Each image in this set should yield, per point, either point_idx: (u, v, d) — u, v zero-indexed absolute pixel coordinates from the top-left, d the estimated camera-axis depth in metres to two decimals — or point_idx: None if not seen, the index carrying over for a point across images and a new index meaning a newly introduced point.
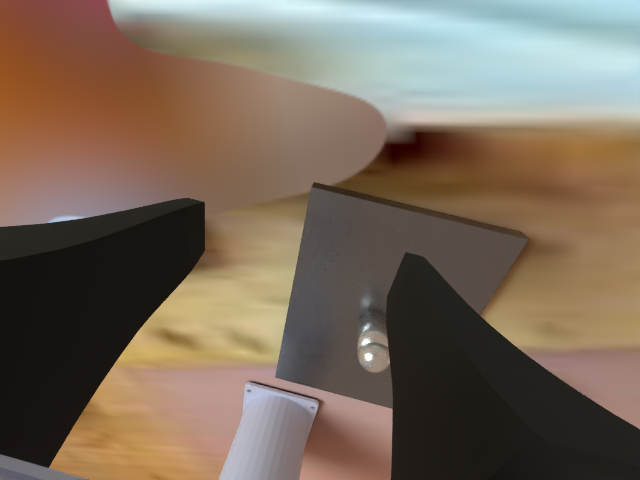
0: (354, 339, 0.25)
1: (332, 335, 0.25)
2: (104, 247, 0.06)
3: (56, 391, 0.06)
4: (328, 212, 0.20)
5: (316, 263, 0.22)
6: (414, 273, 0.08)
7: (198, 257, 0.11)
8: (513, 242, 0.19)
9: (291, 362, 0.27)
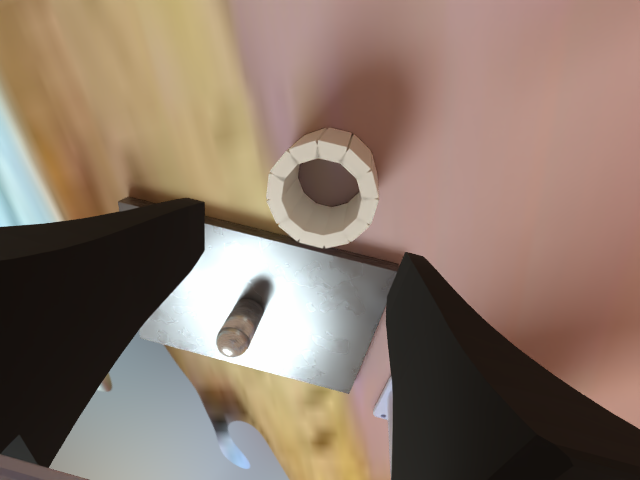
0: (274, 326, 0.24)
1: (274, 342, 0.25)
2: (104, 247, 0.06)
3: (56, 391, 0.06)
4: (153, 331, 0.27)
5: (198, 343, 0.27)
6: (414, 273, 0.08)
7: (198, 257, 0.11)
8: None
9: (321, 377, 0.26)
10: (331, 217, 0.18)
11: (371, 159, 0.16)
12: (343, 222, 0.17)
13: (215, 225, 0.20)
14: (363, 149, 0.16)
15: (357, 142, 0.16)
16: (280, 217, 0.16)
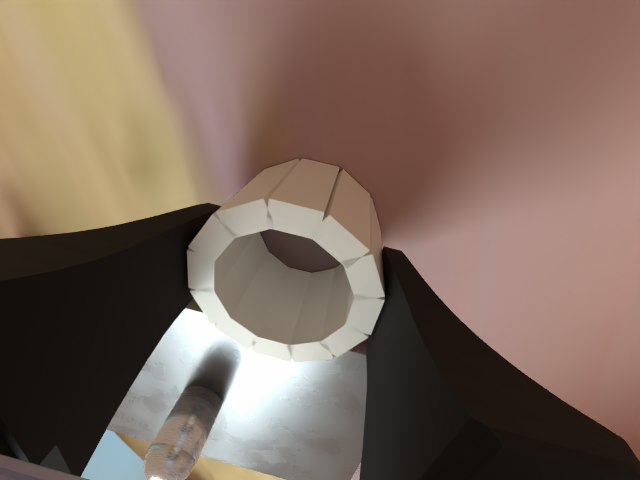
0: (238, 418, 0.18)
1: (240, 435, 0.19)
2: (136, 255, 0.06)
3: (90, 400, 0.06)
4: None
5: (142, 429, 0.20)
6: (389, 267, 0.08)
7: None
8: None
9: (305, 475, 0.20)
10: (308, 298, 0.11)
11: (371, 216, 0.09)
12: (325, 316, 0.10)
13: None
14: (357, 199, 0.09)
15: (347, 187, 0.09)
16: (216, 316, 0.09)
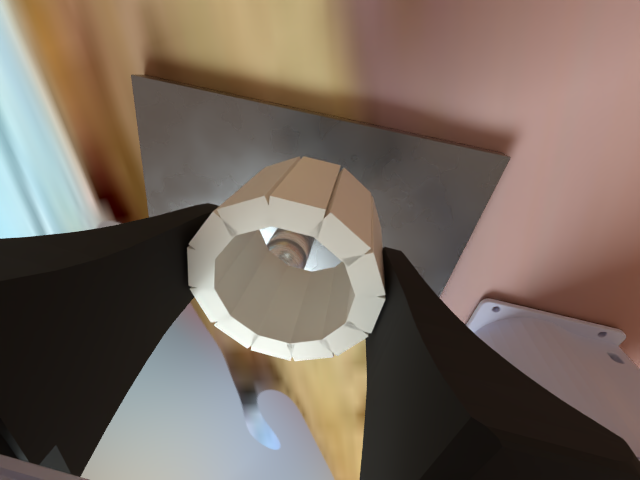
0: (328, 253, 0.19)
1: None
2: (136, 255, 0.06)
3: (89, 400, 0.06)
4: None
5: None
6: (389, 267, 0.08)
7: None
8: (140, 91, 0.16)
9: None
10: (308, 296, 0.11)
11: (372, 214, 0.09)
12: (325, 315, 0.10)
13: (260, 102, 0.15)
14: (358, 198, 0.09)
15: (348, 185, 0.09)
16: (216, 314, 0.09)
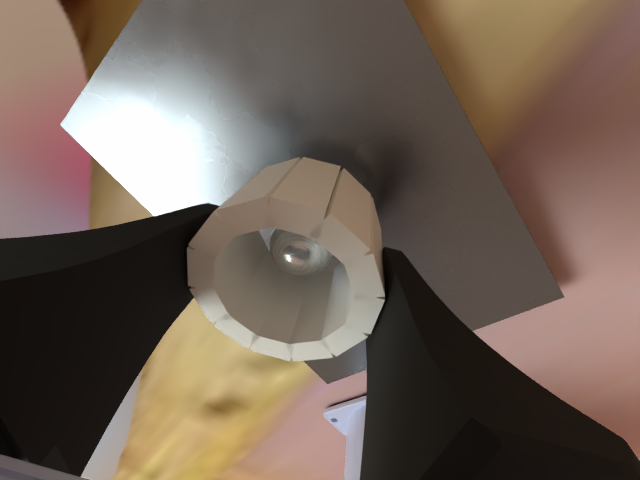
0: None
1: None
2: (136, 255, 0.06)
3: (89, 400, 0.06)
4: (102, 131, 0.13)
5: (173, 204, 0.14)
6: (389, 267, 0.08)
7: None
8: None
9: None
10: (307, 297, 0.11)
11: (372, 215, 0.09)
12: (324, 315, 0.10)
13: (421, 34, 0.10)
14: (358, 199, 0.09)
15: (348, 186, 0.09)
16: (215, 314, 0.09)
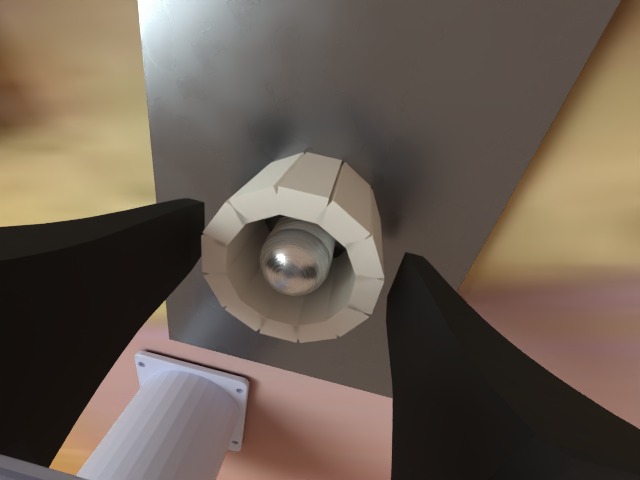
0: None
1: None
2: (104, 247, 0.06)
3: (56, 391, 0.06)
4: None
5: (181, 78, 0.11)
6: (414, 273, 0.08)
7: (198, 257, 0.11)
8: None
9: (187, 310, 0.16)
10: None
11: (371, 205, 0.10)
12: (328, 300, 0.11)
13: (508, 194, 0.11)
14: (359, 189, 0.10)
15: (349, 178, 0.10)
16: (227, 298, 0.10)
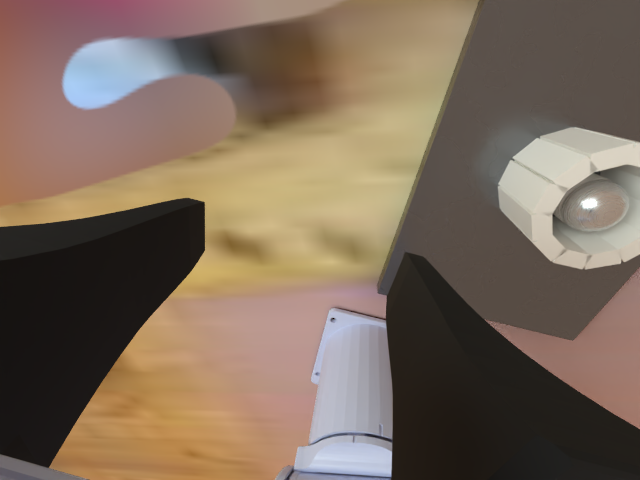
0: None
1: (481, 212, 0.17)
2: (104, 247, 0.06)
3: (56, 391, 0.06)
4: None
5: (490, 72, 0.14)
6: (414, 273, 0.08)
7: (198, 257, 0.11)
8: None
9: None
10: (567, 231, 0.15)
11: None
12: (601, 238, 0.14)
13: None
14: None
15: None
16: (541, 234, 0.13)
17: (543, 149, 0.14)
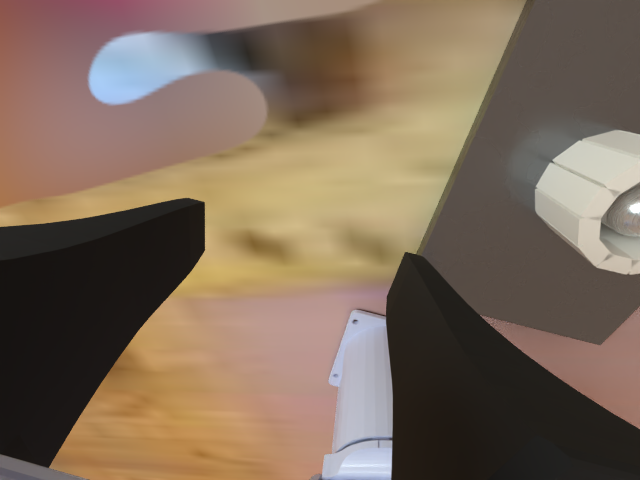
0: None
1: (516, 215, 0.17)
2: (104, 247, 0.06)
3: (56, 391, 0.06)
4: None
5: (536, 72, 0.14)
6: (414, 273, 0.08)
7: (198, 257, 0.11)
8: None
9: (435, 268, 0.20)
10: (607, 235, 0.15)
11: None
12: None
13: None
14: None
15: None
16: (587, 238, 0.13)
17: (588, 152, 0.14)
